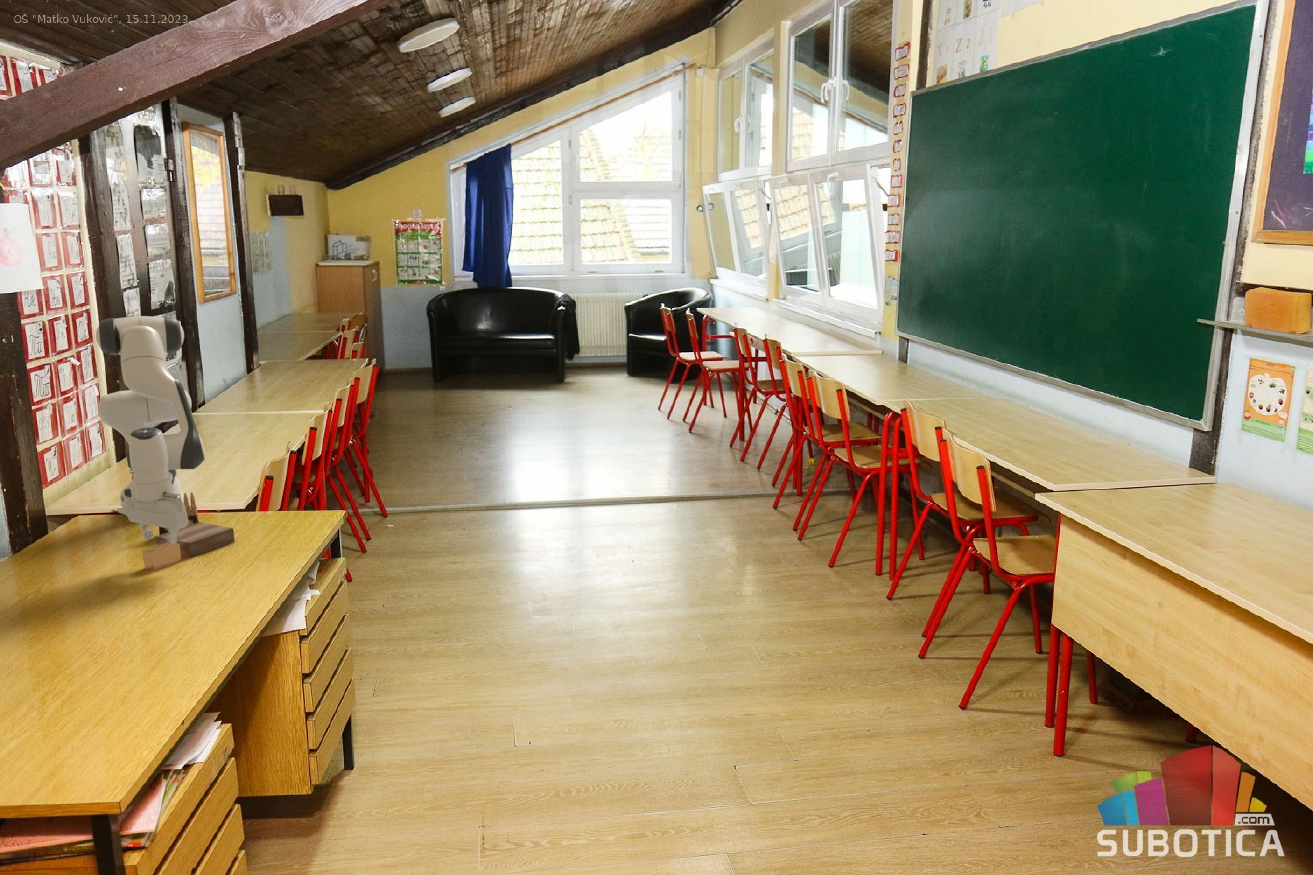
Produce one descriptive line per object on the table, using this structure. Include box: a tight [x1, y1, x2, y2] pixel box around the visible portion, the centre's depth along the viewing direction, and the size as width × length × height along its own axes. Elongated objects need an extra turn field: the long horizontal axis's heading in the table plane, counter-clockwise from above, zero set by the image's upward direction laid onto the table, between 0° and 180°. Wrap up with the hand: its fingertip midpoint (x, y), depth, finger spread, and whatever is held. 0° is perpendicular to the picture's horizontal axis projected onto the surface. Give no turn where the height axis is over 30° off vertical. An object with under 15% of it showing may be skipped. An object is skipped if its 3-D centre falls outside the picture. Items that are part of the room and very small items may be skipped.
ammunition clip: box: [158, 491, 200, 535], centre depth 281 cm, size 11×2×12 cm, turn 109°
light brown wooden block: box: [141, 542, 183, 571], centre depth 256 cm, size 4×8×5 cm, turn 153°
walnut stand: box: [155, 521, 236, 558], centre depth 270 cm, size 14×14×4 cm
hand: (160, 541), depth 255 cm, fingers open, 8 cm apart
